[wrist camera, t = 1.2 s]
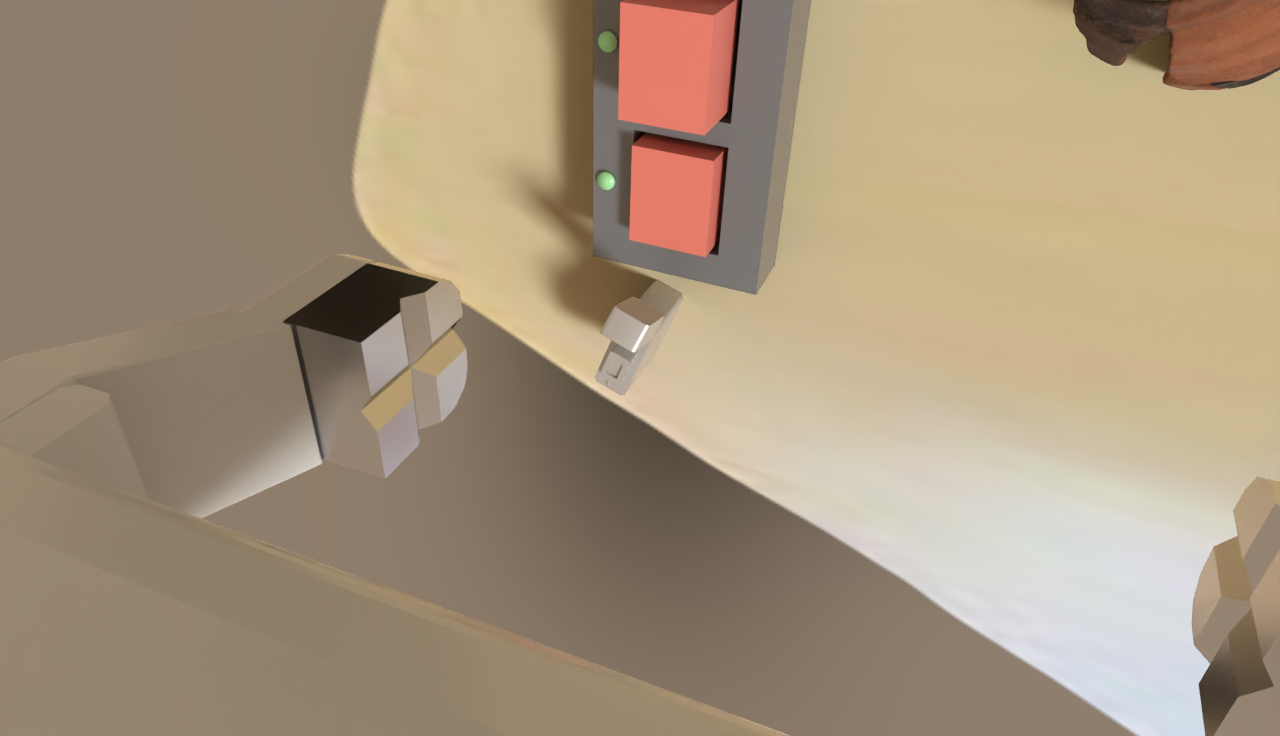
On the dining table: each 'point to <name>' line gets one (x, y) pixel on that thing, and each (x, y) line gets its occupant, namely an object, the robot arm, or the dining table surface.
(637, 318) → the lighter
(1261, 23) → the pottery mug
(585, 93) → the dining table surface
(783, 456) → the dining table surface
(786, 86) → the power strip
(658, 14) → the button
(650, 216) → the button
